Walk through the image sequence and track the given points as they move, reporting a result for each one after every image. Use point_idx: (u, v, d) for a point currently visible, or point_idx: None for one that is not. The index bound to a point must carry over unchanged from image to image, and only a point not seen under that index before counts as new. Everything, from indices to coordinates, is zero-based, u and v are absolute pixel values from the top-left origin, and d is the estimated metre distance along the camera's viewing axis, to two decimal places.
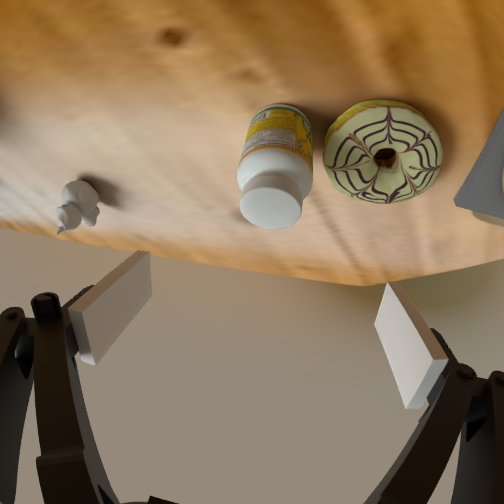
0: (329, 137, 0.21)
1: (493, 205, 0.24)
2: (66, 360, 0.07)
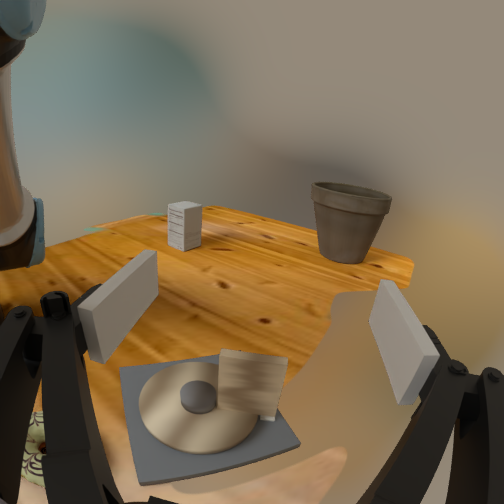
0: None
1: (179, 464, 0.25)
2: (74, 359, 0.08)
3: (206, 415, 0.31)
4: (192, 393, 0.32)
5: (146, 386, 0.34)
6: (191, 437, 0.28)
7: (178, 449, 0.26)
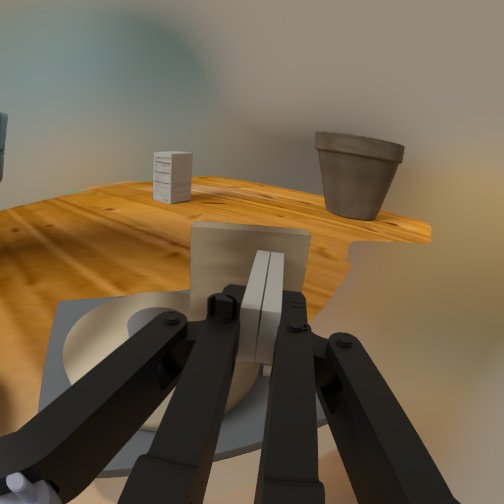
0: None
1: None
2: (225, 369, 0.08)
3: None
4: None
5: (77, 325, 0.20)
6: None
7: None
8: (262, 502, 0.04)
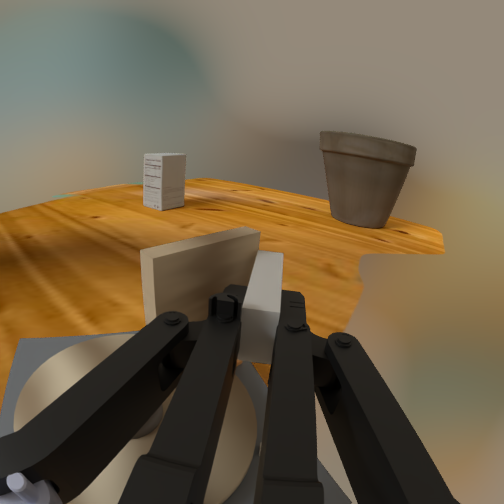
0: None
1: None
2: (226, 369, 0.08)
3: None
4: None
5: None
6: None
7: None
8: (261, 502, 0.04)
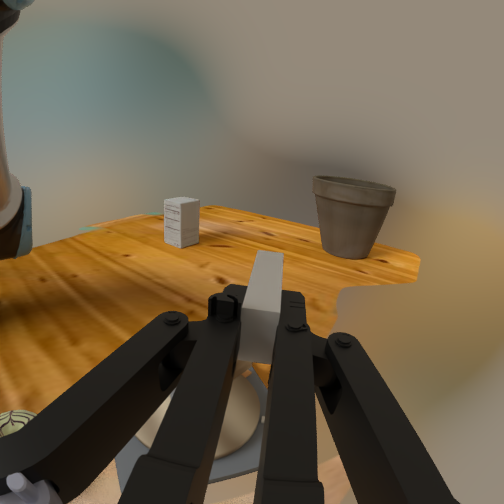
0: None
1: None
2: (226, 369, 0.08)
3: None
4: None
5: None
6: (233, 428, 0.26)
7: (238, 447, 0.25)
8: (261, 502, 0.04)
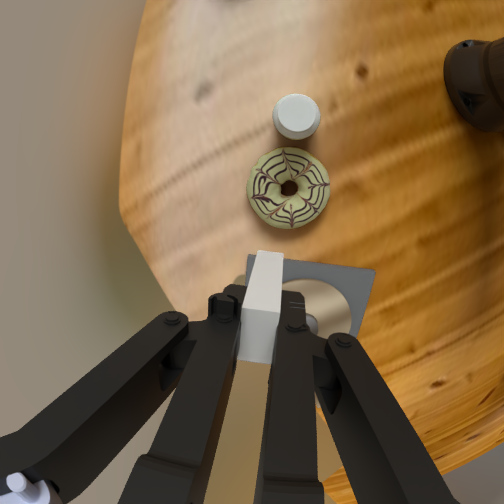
0: (303, 150, 0.36)
1: None
2: (226, 369, 0.08)
3: None
4: None
5: (291, 285, 0.42)
6: None
7: None
8: (261, 502, 0.04)
